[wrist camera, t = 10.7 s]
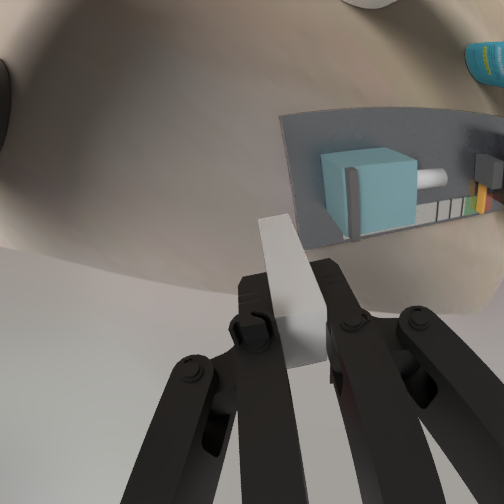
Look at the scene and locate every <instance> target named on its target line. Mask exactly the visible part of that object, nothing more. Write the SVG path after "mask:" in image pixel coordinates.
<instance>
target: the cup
mask: <svg viewBox="0 0 504 504" xmlns="http://www.w3.org/2000/svg"><path fill="white" fill-rule="evenodd" d="M342 1H344V2H346V3H349V4H351V5H354V6H357V7H361V8H367V9H378V8H382V7H385V6H387V5H389V4H391V3H393V2H395V1H397V0H342Z"/></svg>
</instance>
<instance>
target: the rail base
mask: <svg viewBox="0 0 504 504" xmlns="http://www.w3.org/2000/svg"><path fill="white" fill-rule="evenodd" d="M279 119H280V125H281V130H282V135H283V141H284V146H285V152H286V158H287V163H288V169H289V176H290V182H291V188H292V195H293V201H294V208H295V215H296V222H297V229H298V237H299V240H300V242H301V244H302V247H303V249H304V250H306V249H311V248H316V247H322V246H327V245H332V244H337V243H342V242H347V241H351V240H350V238H349V237H345V235H344V234H343V232H342V231H341V230H340V228H339V227H338V225H337V224H336V223H335V221H334V220H333V219H332V217H331V216H330V215H329V213H328V212H327V208H326V198H325V188H324V179H323V170H322V162H321V155H320V154H326V153H334V152H342V151H351V150H360V149H371V148H382V147H386V148H389V149H391V150H394V151H396V152H399V153H401V154H404V155H406V156H409V157H411V158H413V159H416V160H417V170H424V169H436V168H443V169H444V170H445V171H446V173H447V177H448V181H447V184H446V185H445V186H439V187H431V188H423V189H417V206H416V221H415V224H412V225H407V226H401V227H396V228H391V229H386V230H381V231H376V232H371V233H366V234H361V235H360V239H362V238H367V237H372V236H377V235H382V234H387V233H392V232H397V231H402V230H407V229H412V228H417V227H422V226H427V225H431V224H436V223H441V222H446V221H451V220H456V219H460V218H465V217H470V216H475V215H479V214H480V213H478V212H477V211H476V205H477V196H478V187H479V182H477V181H475V180H474V177H475V157H476V154H488V155H490V156H493V157H495V158H497V159H500V160H502V161H504V117H500V116H495V115H489V114H483V113H476V112H468V111H460V110H450V109H438V108H421V107H364V108H345V109H332V110H321V111H312V112H303V113H296V114H288V115H282V116H279ZM502 204H503V205H504V167H503V179H502V188H500V189H490V188H488V187H487V194H486V202H485V209H484V213H489V212H494V211H498V210H501V208H502Z"/></svg>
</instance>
